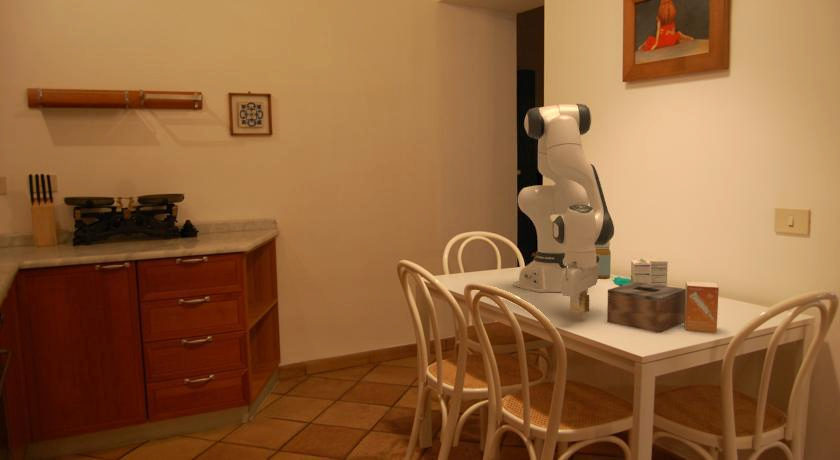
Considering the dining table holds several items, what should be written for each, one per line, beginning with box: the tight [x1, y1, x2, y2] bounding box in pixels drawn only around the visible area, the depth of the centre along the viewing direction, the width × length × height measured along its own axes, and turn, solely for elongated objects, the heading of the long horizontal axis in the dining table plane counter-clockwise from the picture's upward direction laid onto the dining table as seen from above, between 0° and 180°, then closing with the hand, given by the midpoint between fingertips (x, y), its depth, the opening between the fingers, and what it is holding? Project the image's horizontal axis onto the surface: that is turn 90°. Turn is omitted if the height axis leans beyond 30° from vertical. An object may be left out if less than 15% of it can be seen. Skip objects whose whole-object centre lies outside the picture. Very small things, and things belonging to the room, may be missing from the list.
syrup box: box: [630, 259, 651, 284], centre depth 194 cm, size 6×6×14 cm
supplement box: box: [639, 257, 669, 286], centre depth 208 cm, size 7×7×13 cm
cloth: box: [612, 276, 631, 286], centre depth 225 cm, size 26×14×2 cm, turn 164°
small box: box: [683, 281, 720, 334], centre depth 164 cm, size 8×6×13 cm
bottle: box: [595, 240, 612, 279], centre depth 241 cm, size 7×7×15 cm
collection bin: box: [606, 282, 685, 334], centre depth 172 cm, size 16×16×10 cm
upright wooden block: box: [569, 293, 590, 314], centre depth 175 cm, size 5×2×5 cm, turn 41°
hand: (579, 305), depth 175 cm, fingers closed on upright wooden block, 3 cm apart
